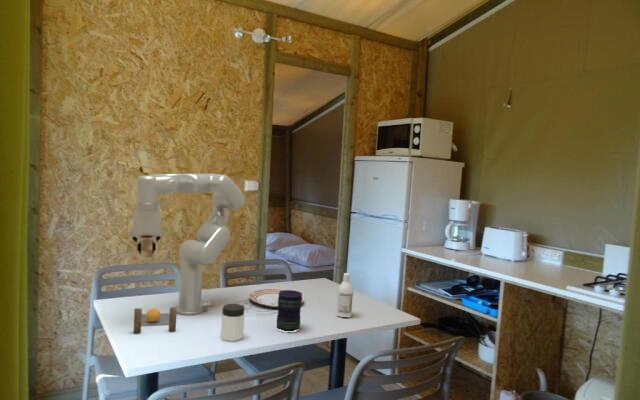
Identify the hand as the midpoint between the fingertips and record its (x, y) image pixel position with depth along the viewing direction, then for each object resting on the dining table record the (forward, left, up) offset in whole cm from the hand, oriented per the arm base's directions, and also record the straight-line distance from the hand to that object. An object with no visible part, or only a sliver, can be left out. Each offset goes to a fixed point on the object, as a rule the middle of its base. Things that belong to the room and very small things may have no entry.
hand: (146, 252), depth 175 cm
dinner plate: (-61, -23, -30) cm, 71 cm away
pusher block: (0, 0, -1) cm, 1 cm away
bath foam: (-87, +2, -29) cm, 92 cm away
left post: (+2, +10, -29) cm, 31 cm away
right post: (-11, +10, -29) cm, 32 cm away
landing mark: (-5, -4, -29) cm, 30 cm away
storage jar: (-57, +14, -29) cm, 65 cm away
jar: (-33, +20, -29) cm, 48 cm away
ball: (-4, -2, -26) cm, 27 cm away
